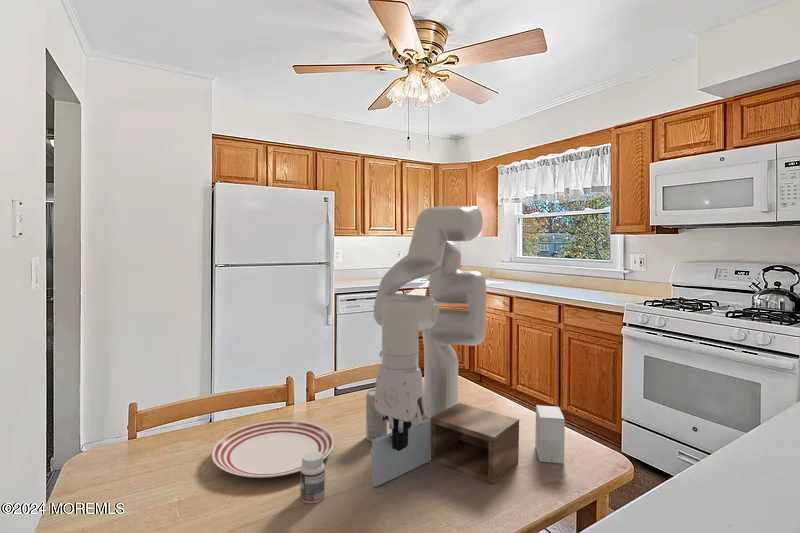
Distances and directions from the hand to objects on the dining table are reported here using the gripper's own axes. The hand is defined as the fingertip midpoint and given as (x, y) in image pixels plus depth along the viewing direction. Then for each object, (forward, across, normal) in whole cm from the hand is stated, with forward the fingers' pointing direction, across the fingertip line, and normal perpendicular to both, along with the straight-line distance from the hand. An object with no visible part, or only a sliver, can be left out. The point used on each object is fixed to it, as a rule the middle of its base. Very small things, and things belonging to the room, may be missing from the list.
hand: (400, 447), depth 90 cm
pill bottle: (+8, -10, -15) cm, 19 cm away
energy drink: (+8, -18, +12) cm, 23 cm away
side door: (+7, -3, +3) cm, 9 cm away
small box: (+8, +19, +32) cm, 38 cm away
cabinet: (+8, +7, +18) cm, 21 cm away
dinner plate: (+8, -30, -10) cm, 33 cm away
